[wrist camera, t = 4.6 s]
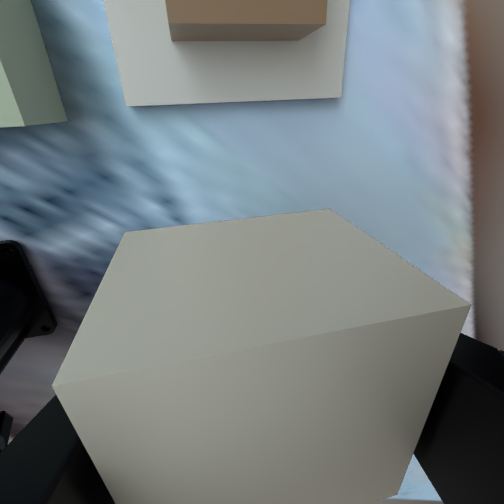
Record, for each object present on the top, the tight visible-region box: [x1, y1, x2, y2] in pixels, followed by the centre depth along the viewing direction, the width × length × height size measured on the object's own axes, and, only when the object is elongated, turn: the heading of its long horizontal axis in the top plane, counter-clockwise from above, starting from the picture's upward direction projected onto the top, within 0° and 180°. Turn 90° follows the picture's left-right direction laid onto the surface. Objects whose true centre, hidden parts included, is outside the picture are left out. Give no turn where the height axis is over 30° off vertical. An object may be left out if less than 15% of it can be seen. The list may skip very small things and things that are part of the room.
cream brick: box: [52, 209, 471, 504], centre depth 7 cm, size 6×6×4 cm
